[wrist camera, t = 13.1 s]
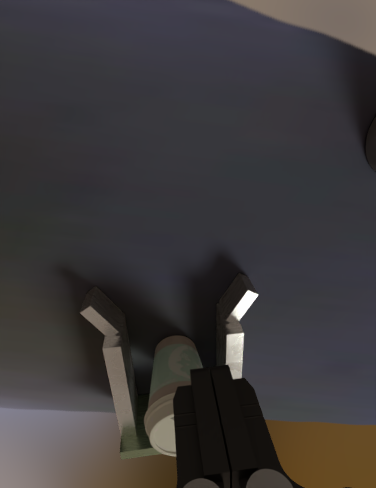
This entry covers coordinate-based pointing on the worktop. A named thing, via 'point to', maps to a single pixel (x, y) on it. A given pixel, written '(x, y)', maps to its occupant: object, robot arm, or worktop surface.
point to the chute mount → (121, 364)
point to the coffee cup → (168, 389)
